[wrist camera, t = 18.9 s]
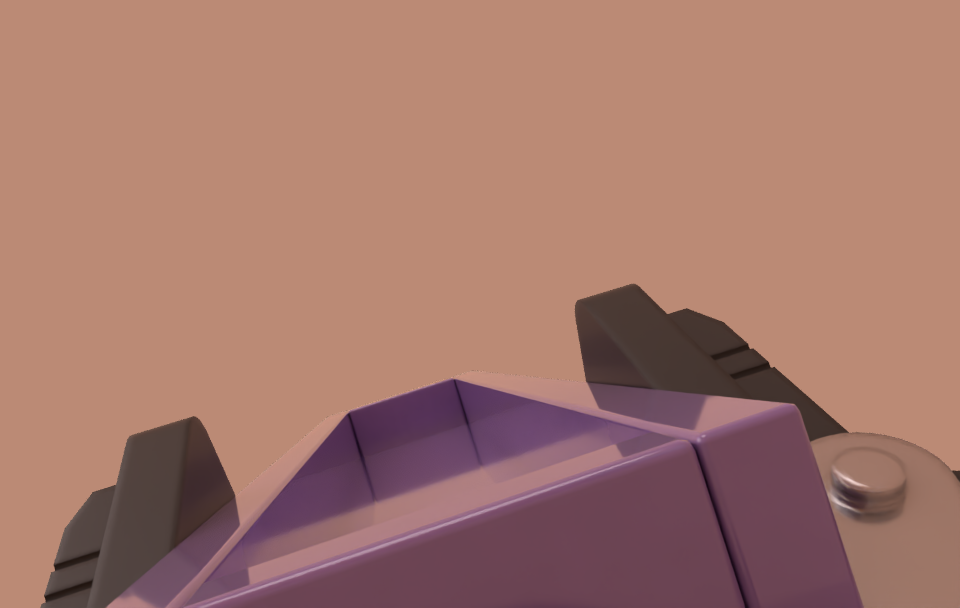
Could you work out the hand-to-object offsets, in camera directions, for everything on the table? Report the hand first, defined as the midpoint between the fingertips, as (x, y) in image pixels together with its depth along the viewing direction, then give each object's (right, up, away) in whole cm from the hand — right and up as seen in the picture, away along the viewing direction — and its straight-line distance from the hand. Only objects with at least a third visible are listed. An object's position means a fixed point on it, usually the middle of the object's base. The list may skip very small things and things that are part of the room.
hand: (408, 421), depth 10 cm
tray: (0, -3, +5) cm, 5 cm away
